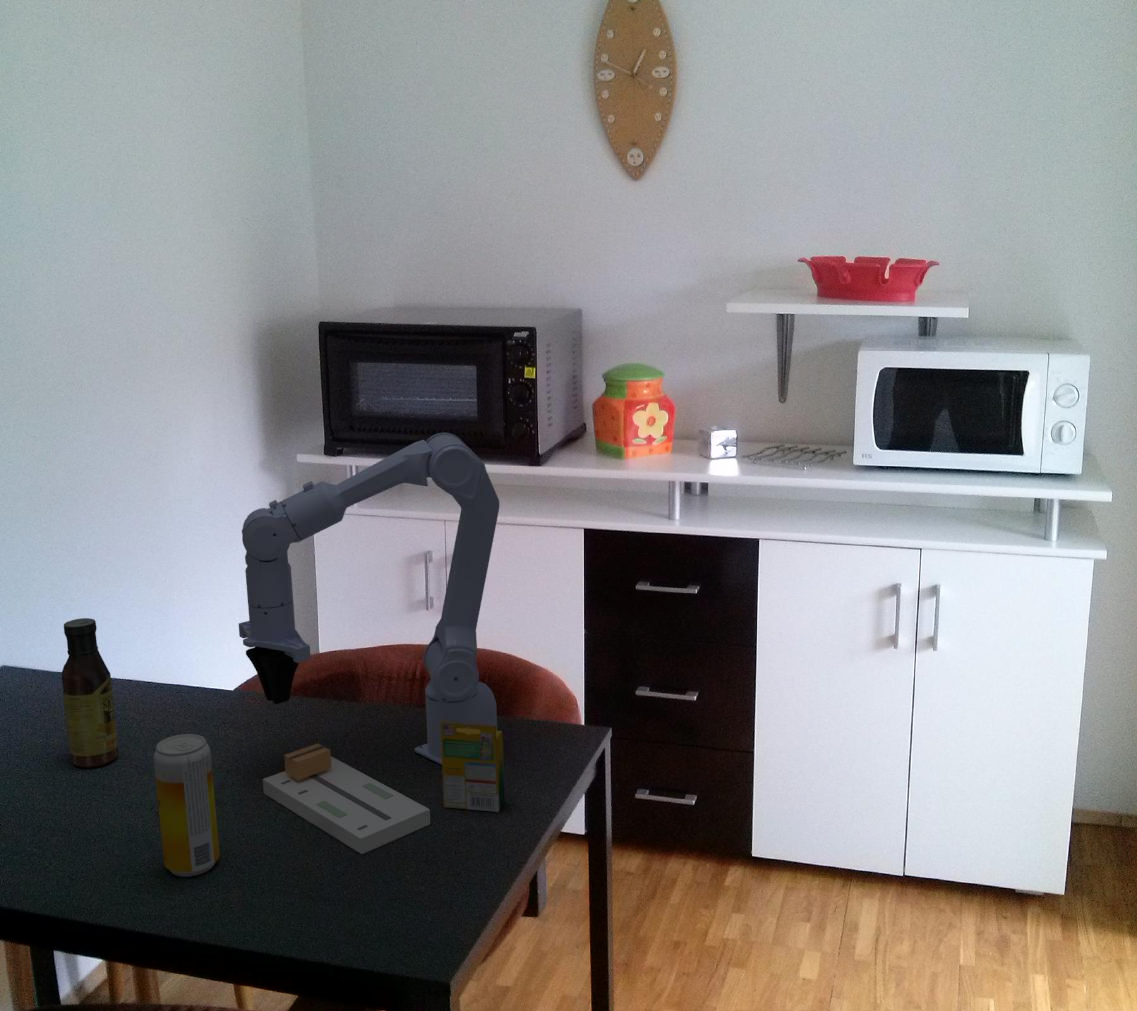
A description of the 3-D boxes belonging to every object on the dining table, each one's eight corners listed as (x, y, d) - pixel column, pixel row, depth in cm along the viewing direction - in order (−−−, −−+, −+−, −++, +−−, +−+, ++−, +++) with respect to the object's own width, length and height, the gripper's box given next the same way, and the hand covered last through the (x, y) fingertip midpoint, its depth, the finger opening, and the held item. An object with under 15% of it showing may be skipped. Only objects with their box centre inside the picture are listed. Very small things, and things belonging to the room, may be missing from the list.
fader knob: (319, 760, 157) (317, 742, 156) (331, 767, 155) (330, 749, 154) (285, 773, 154) (283, 754, 153) (297, 780, 151) (296, 761, 151)
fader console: (329, 768, 160) (328, 754, 160) (430, 824, 145) (429, 808, 144) (263, 793, 154) (262, 778, 153) (361, 854, 138) (360, 837, 138)
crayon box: (505, 802, 150) (503, 716, 148) (499, 813, 147) (496, 726, 145) (450, 797, 152) (446, 712, 149) (443, 808, 149) (439, 721, 146)
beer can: (200, 846, 141) (189, 728, 137) (230, 862, 137) (220, 741, 133) (154, 867, 136) (141, 745, 133) (184, 885, 132) (172, 760, 129)
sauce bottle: (120, 765, 162) (105, 626, 158) (70, 773, 160) (54, 633, 156) (118, 746, 168) (104, 612, 164) (71, 754, 166) (55, 618, 162)
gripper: (214, 596, 156) (223, 693, 159) (272, 621, 146) (280, 724, 149) (262, 585, 161) (269, 679, 164) (321, 608, 151) (328, 708, 154)
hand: (278, 700), depth 157 cm, fingers closed
